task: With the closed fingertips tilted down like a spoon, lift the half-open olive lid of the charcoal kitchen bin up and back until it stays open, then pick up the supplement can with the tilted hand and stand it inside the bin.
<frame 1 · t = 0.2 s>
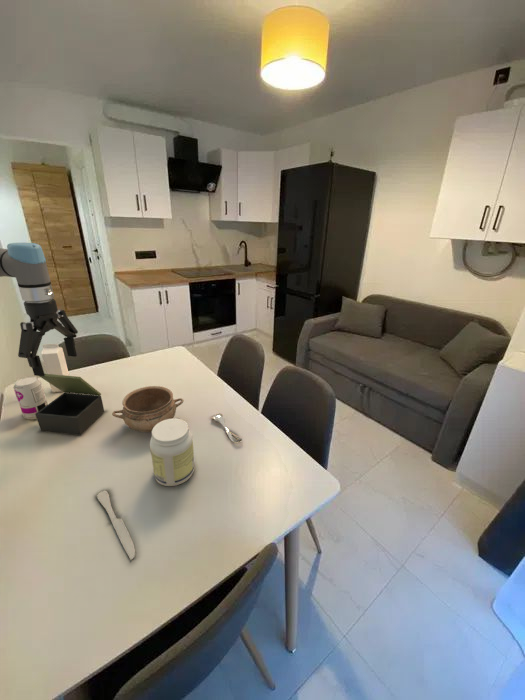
hand: (57, 365, 92), 29 cm above the table, tool pointing down, fingers open, 13 cm apart
milk: (62, 388, 132), on the table
bin lid: (71, 385, 108), point 14 cm above the table, hinge at 55.0°
stirrer: (226, 430, 111), on the table
butter knife: (115, 522, 75), on the table
supplement can: (37, 414, 115), on the table
supplement tub: (174, 472, 91), on the table
bin: (74, 421, 112), on the table
cooking pot: (152, 425, 112), on the table
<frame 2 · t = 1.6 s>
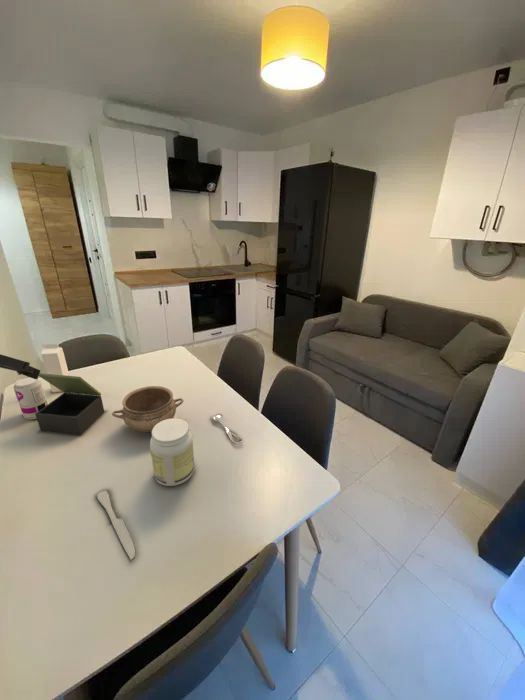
hand: (15, 373, 85), 29 cm above the table, tool tilted 45°, fingers open, 13 cm apart
nothing on the table moved.
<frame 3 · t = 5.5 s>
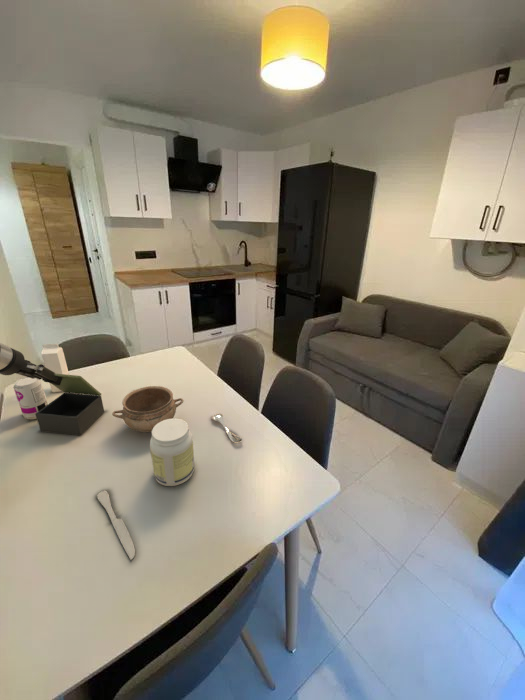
hand: (59, 381, 102), 19 cm above the table, tool tilted 45°, fingers closed
bin lid: (71, 384, 108), point 15 cm above the table, hinge at 56.4°
everything else where it was.
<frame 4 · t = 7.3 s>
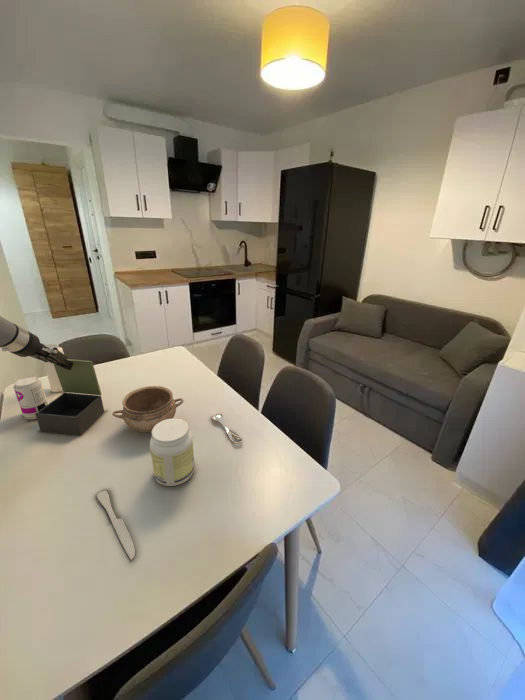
hand: (70, 366, 107), 21 cm above the table, tool tilted 45°, fingers closed
bin lid: (77, 377, 111), point 16 cm above the table, hinge at 85.4°, touching gripper
everything else where it was.
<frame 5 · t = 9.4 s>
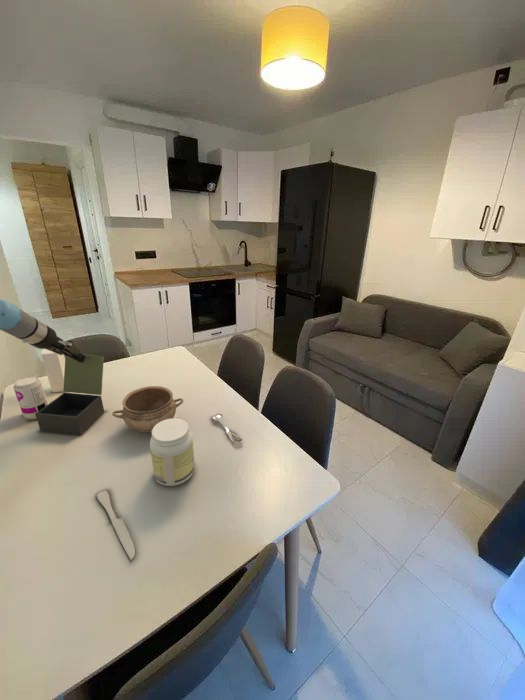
hand: (82, 359, 113), 21 cm above the table, tool tilted 45°, fingers closed
bin lid: (83, 374, 115), point 15 cm above the table, hinge at 112.0°, touching gripper
everything else where it was.
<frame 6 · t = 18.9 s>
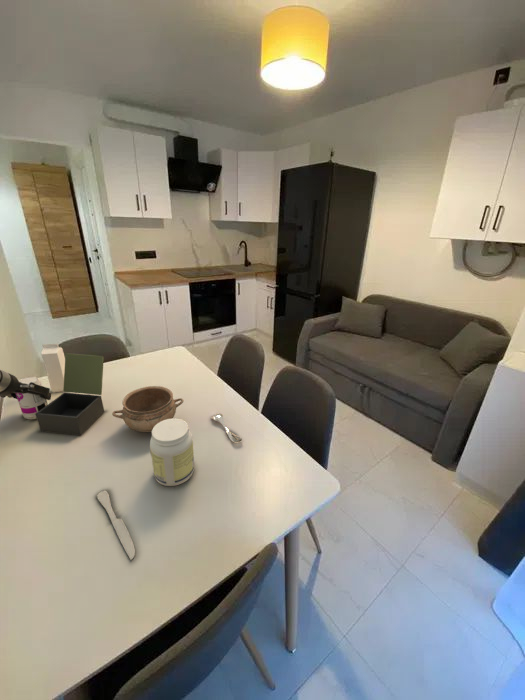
hand: (37, 397, 115), 6 cm above the table, tool tilted 45°, fingers closed on supplement can, 8 cm apart
bin lid: (83, 374, 115), point 15 cm above the table, hinge at 112.0°
supplement can: (37, 414, 115), on the table, touching gripper
everything else where it was.
when the fingers open (6 cm above the table, at t = 30.1 s): supplement can stays where it is, resting on bin.
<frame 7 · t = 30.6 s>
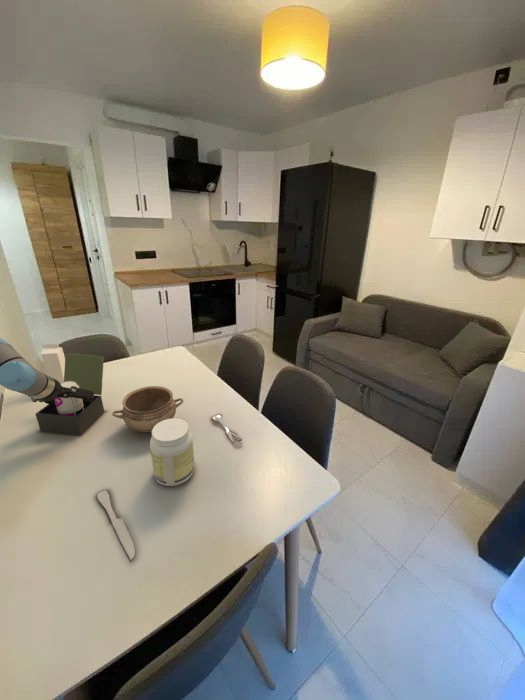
hand: (74, 401, 111), 7 cm above the table, tool tilted 45°, fingers open, 12 cm apart
supplement can: (74, 420, 111), point 1 cm above the table, touching bin
everything else where it was.
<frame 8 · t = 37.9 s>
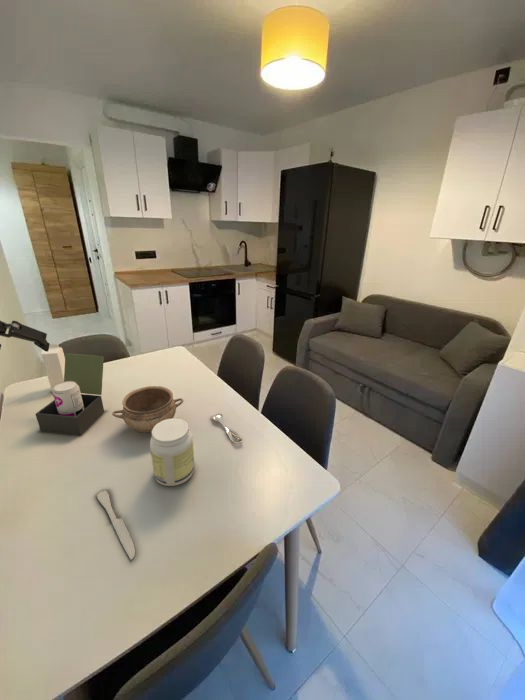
hand: (23, 348, 91), 34 cm above the table, tool tilted 45°, fingers open, 13 cm apart
nothing on the table moved.
at the end: bin lid at +112° (first picture: +55°); supplement can inside the target area in the bin (0.1 cm from its centre), point 0.5 cm above the bin's base; supplement can tilted 0° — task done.
